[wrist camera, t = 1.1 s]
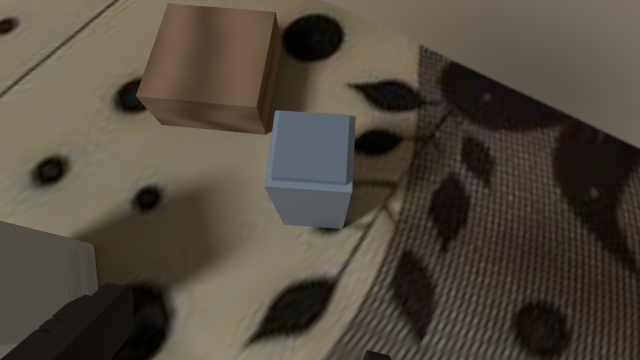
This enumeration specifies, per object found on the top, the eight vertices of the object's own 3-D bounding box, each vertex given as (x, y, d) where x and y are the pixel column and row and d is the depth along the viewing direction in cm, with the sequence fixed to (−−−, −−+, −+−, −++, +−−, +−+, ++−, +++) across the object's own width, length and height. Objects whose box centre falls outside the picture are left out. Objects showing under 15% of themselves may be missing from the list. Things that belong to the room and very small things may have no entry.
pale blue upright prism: (345, 173, 30) (356, 110, 20) (342, 228, 29) (352, 189, 19) (290, 169, 31) (273, 105, 21) (283, 224, 29) (262, 182, 19)
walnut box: (282, 50, 35) (275, 11, 31) (266, 136, 32) (256, 107, 27) (188, 42, 36) (168, 3, 31) (163, 126, 33) (135, 96, 28)
